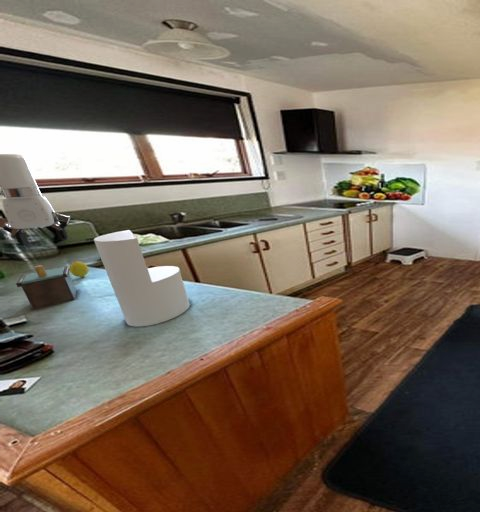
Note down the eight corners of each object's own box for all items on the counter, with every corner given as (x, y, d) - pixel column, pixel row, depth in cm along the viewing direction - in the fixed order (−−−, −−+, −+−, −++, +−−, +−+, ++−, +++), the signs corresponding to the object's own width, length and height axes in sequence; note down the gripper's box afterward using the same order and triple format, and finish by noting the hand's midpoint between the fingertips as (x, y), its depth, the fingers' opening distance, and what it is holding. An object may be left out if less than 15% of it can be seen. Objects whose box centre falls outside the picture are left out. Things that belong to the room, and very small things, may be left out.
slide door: (21, 284, 95) (15, 271, 93) (27, 276, 102) (21, 264, 100) (62, 276, 101) (57, 264, 99) (65, 268, 108) (60, 257, 107)
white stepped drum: (130, 333, 82) (95, 245, 73) (123, 313, 93) (92, 235, 84) (195, 310, 94) (173, 232, 85) (183, 295, 105) (161, 225, 96)
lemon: (78, 280, 123) (70, 263, 120) (71, 279, 125) (64, 262, 122) (93, 275, 128) (87, 259, 125) (87, 274, 130) (80, 258, 127)
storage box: (30, 310, 97) (15, 283, 93) (34, 300, 105) (21, 274, 101) (77, 299, 105) (66, 273, 101) (79, 290, 113) (68, 266, 109)
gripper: (-26, 196, 84) (1, 249, 89) (52, 192, 91) (72, 241, 97) (-8, 194, 90) (17, 243, 96) (64, 190, 97) (83, 236, 103)
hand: (45, 242), depth 96 cm, fingers open, 9 cm apart
